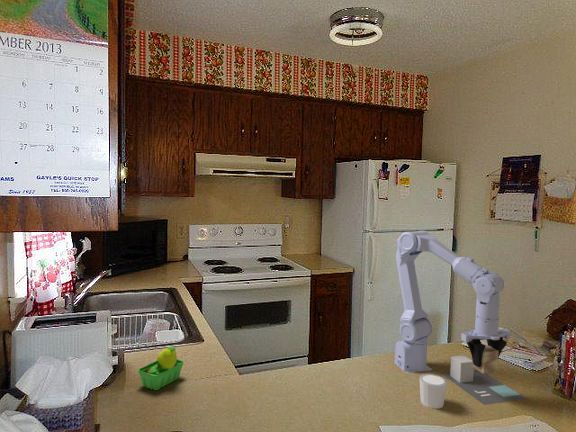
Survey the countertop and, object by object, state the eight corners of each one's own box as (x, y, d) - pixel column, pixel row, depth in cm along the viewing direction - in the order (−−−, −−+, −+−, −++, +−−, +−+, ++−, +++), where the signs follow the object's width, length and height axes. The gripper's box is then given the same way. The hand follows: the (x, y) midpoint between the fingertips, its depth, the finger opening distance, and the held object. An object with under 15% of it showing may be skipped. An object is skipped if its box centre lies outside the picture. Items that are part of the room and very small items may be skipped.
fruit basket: (166, 371, 121) (166, 335, 121) (188, 378, 117) (188, 341, 117) (136, 387, 111) (136, 348, 111) (159, 395, 107) (158, 355, 106)
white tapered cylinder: (445, 400, 107) (446, 375, 106) (446, 414, 100) (447, 387, 100) (418, 396, 109) (419, 371, 109) (418, 409, 103) (419, 383, 102)
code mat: (484, 406, 104) (484, 404, 104) (441, 375, 122) (441, 373, 122) (527, 400, 108) (527, 398, 108) (479, 371, 125) (479, 369, 125)
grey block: (460, 382, 116) (461, 363, 116) (450, 375, 120) (451, 356, 120) (473, 381, 117) (473, 361, 117) (462, 374, 121) (463, 355, 121)
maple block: (483, 373, 107) (484, 352, 106) (471, 366, 111) (472, 345, 111) (497, 372, 108) (498, 350, 108) (485, 365, 112) (486, 344, 112)
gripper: (475, 323, 103) (472, 373, 104) (520, 319, 107) (517, 368, 107) (457, 315, 110) (454, 362, 111) (500, 311, 113) (497, 357, 114)
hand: (484, 364), depth 109 cm, fingers closed on maple block, 4 cm apart
